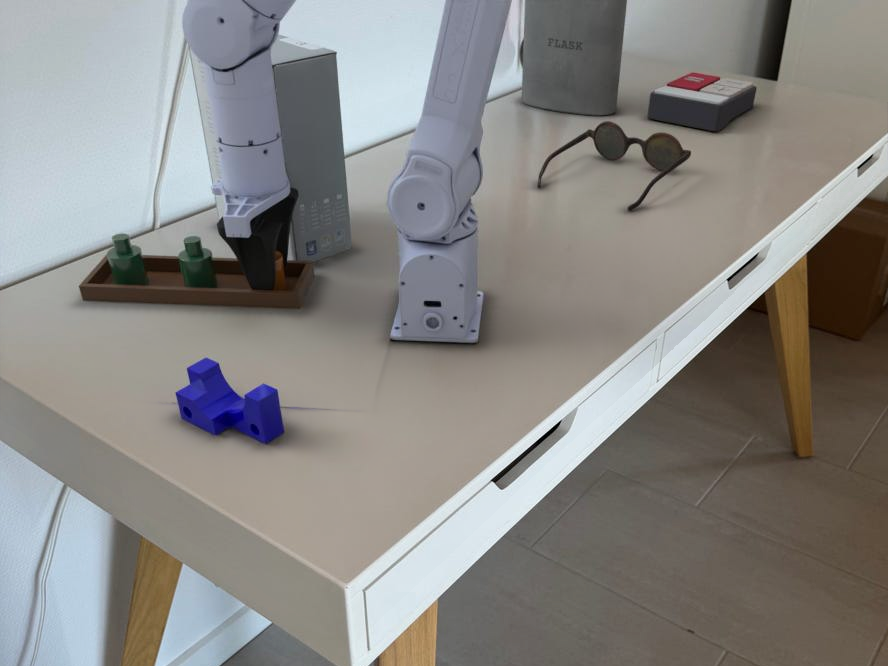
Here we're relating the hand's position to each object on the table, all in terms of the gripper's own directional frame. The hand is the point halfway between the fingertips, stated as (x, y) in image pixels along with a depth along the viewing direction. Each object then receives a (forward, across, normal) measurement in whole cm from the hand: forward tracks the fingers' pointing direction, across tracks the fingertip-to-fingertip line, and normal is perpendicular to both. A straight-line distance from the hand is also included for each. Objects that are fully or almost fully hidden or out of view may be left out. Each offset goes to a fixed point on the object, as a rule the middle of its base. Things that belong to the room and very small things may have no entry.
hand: (269, 277), depth 89 cm
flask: (+2, -63, +30) cm, 70 cm away
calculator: (+2, -62, +50) cm, 80 cm away
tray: (+2, 0, -7) cm, 7 cm away
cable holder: (+2, +22, +2) cm, 23 cm away
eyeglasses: (+2, -33, +35) cm, 48 cm away
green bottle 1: (+1, 0, -14) cm, 14 cm away
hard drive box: (+2, -13, -2) cm, 13 cm away
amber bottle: (+1, 0, 0) cm, 1 cm away
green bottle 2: (+1, 0, -7) cm, 7 cm away
